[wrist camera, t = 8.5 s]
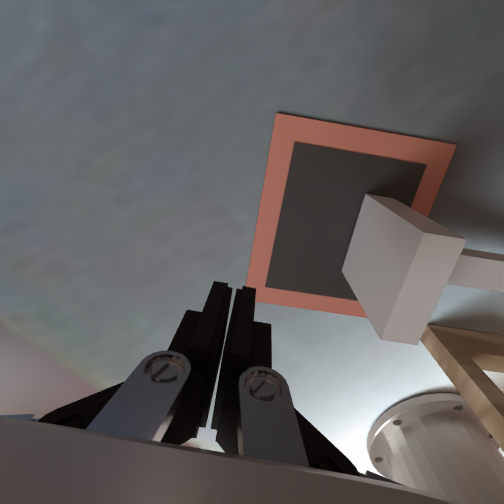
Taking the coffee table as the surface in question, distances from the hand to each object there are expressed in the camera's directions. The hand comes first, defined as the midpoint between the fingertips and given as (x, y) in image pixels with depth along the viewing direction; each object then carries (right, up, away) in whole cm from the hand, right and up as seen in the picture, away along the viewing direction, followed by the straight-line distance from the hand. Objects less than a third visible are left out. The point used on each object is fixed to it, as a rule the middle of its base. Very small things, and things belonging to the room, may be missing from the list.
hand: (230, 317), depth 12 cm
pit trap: (+7, +4, +10) cm, 13 cm away
